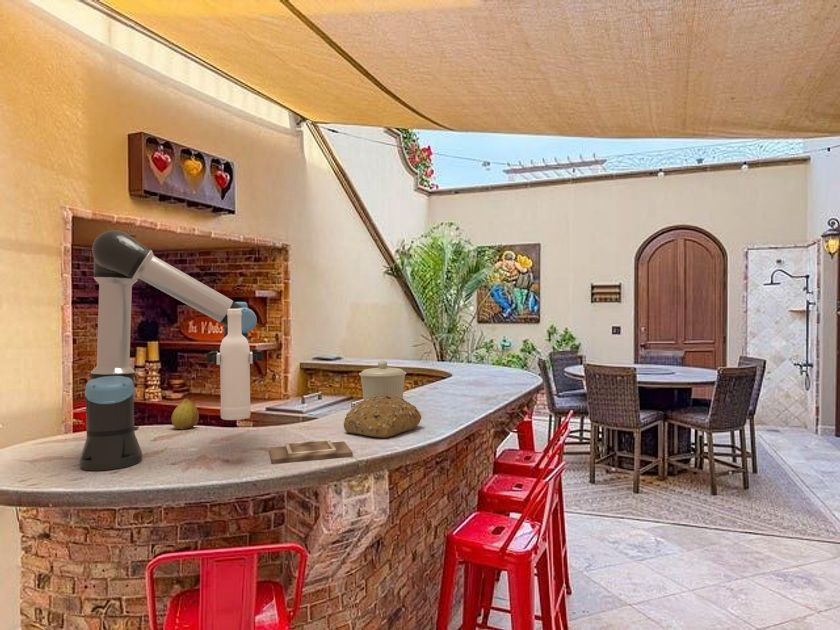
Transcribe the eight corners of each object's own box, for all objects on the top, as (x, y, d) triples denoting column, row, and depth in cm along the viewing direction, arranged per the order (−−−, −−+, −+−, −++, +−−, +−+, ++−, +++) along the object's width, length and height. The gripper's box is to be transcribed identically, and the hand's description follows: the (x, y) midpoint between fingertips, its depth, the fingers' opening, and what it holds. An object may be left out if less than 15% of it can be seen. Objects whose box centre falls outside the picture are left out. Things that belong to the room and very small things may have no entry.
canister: (362, 411, 233) (361, 359, 233) (407, 411, 233) (406, 358, 233) (357, 420, 215) (356, 363, 215) (406, 420, 215) (405, 362, 215)
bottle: (214, 418, 161) (213, 308, 160) (238, 413, 167) (237, 308, 167) (232, 421, 156) (230, 308, 156) (256, 416, 162) (255, 308, 162)
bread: (376, 421, 213) (376, 389, 213) (427, 427, 202) (426, 392, 202) (333, 435, 193) (333, 398, 192) (387, 442, 181) (386, 403, 181)
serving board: (271, 463, 158) (271, 455, 158) (269, 451, 171) (269, 444, 171) (352, 456, 164) (352, 448, 164) (344, 445, 177) (344, 438, 177)
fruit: (166, 430, 204) (165, 396, 204) (182, 425, 213) (182, 392, 213) (188, 431, 202) (187, 396, 202) (204, 425, 211) (203, 392, 211)
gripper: (270, 364, 182) (274, 371, 160) (200, 366, 176) (193, 374, 154) (270, 339, 181) (274, 344, 160) (199, 341, 176) (193, 346, 154)
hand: (234, 359), depth 157 cm, fingers closed on bottle, 8 cm apart
